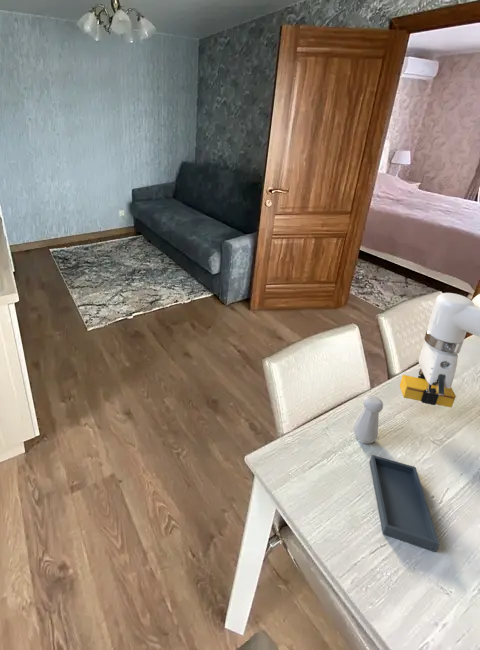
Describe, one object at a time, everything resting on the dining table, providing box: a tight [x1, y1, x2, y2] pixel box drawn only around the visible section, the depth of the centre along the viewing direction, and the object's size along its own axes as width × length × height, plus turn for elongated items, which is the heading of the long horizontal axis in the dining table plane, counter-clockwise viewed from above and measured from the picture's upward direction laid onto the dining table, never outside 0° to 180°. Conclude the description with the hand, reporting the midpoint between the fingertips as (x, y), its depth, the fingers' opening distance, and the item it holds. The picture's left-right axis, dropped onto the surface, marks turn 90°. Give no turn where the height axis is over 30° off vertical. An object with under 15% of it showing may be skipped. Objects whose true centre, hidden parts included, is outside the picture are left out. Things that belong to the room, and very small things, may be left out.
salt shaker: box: [352, 394, 384, 445], centre depth 87 cm, size 6×6×13 cm
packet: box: [399, 374, 457, 409], centre depth 93 cm, size 11×4×4 cm, turn 71°
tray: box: [369, 454, 441, 553], centre depth 75 cm, size 9×16×2 cm, turn 161°
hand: (424, 395), depth 94 cm, fingers closed on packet, 4 cm apart
